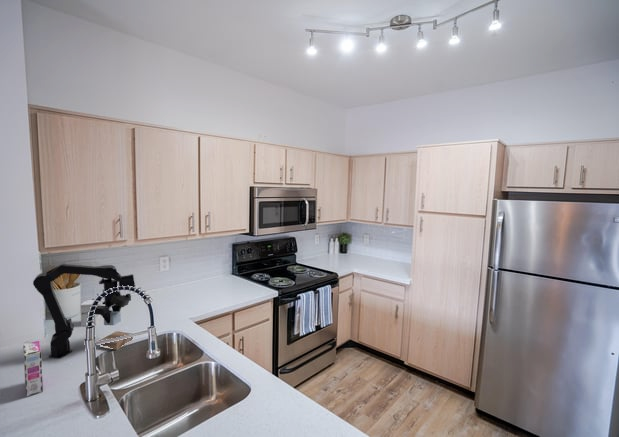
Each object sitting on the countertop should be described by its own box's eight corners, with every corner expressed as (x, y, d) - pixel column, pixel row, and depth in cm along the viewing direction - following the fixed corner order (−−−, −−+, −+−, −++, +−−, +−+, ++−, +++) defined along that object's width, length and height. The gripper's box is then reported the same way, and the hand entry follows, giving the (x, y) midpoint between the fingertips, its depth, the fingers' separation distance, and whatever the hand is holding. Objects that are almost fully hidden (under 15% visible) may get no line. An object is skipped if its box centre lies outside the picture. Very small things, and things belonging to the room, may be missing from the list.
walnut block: (116, 350, 146) (116, 342, 146) (99, 348, 148) (99, 340, 148) (132, 341, 156) (132, 333, 156) (116, 338, 158) (116, 331, 158)
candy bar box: (44, 391, 116) (41, 350, 114) (26, 397, 112) (23, 355, 111) (41, 378, 124) (39, 339, 122) (25, 383, 120) (22, 344, 119)
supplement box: (80, 326, 171) (79, 304, 169) (86, 321, 178) (85, 300, 177) (95, 325, 172) (94, 303, 171) (100, 319, 180) (100, 299, 179)
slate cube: (113, 325, 150) (113, 315, 150) (104, 324, 150) (103, 315, 150) (120, 321, 155) (120, 311, 154) (111, 320, 155) (111, 311, 155)
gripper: (112, 298, 141) (113, 330, 143) (138, 285, 160) (139, 314, 161) (89, 297, 142) (91, 329, 144) (118, 284, 161) (120, 313, 162)
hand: (112, 321), depth 153 cm, fingers closed on slate cube, 5 cm apart
